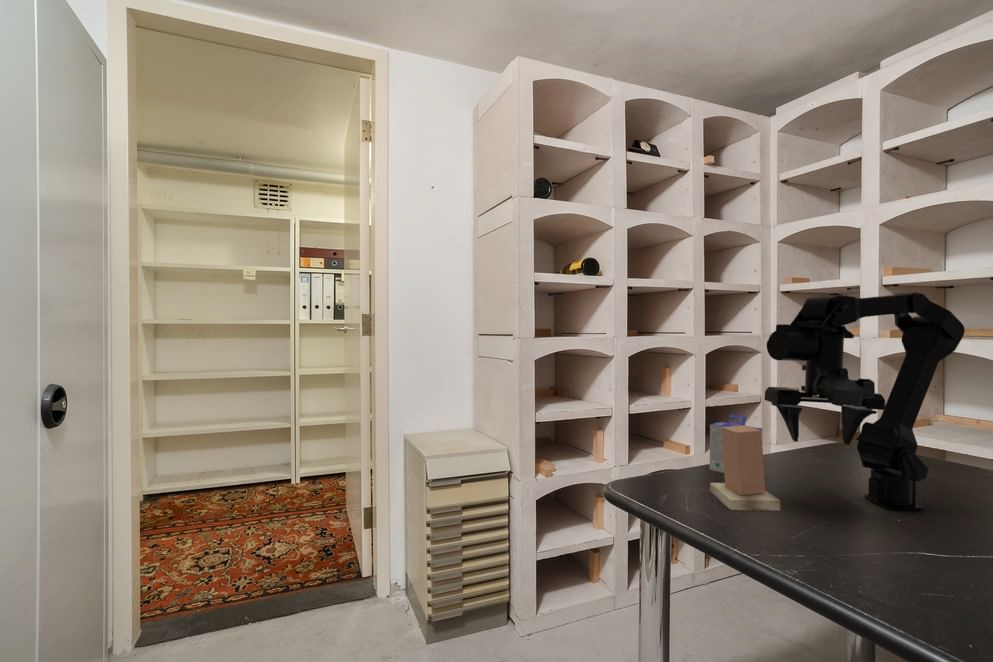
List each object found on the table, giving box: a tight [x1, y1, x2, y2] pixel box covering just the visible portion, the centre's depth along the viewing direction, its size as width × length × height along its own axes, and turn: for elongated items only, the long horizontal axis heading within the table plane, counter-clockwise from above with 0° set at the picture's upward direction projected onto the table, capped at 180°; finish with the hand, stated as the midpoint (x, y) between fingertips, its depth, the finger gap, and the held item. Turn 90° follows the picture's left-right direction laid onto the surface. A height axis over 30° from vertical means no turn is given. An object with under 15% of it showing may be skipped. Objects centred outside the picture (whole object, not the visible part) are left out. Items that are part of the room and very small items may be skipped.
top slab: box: [709, 482, 781, 511], centre depth 89 cm, size 9×9×2 cm
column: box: [722, 424, 766, 495], centre depth 89 cm, size 5×5×12 cm
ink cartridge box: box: [709, 413, 763, 474], centre depth 105 cm, size 10×6×14 cm, turn 37°
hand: (820, 442), depth 87 cm, fingers open, 9 cm apart
